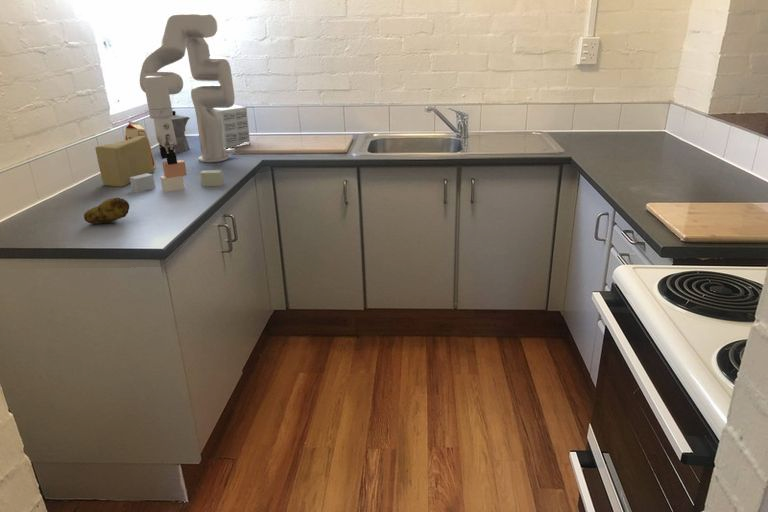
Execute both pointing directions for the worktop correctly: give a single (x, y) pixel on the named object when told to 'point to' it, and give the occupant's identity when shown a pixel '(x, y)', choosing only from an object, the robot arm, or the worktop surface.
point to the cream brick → (172, 183)
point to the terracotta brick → (174, 169)
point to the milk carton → (135, 131)
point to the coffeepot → (180, 132)
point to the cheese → (124, 161)
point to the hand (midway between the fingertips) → (169, 160)
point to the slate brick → (142, 182)
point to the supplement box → (233, 125)
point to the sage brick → (211, 178)
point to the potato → (107, 211)
